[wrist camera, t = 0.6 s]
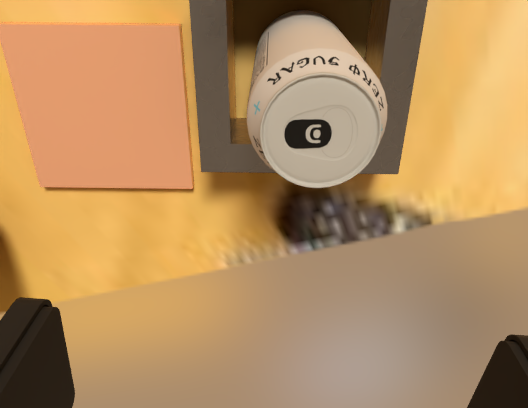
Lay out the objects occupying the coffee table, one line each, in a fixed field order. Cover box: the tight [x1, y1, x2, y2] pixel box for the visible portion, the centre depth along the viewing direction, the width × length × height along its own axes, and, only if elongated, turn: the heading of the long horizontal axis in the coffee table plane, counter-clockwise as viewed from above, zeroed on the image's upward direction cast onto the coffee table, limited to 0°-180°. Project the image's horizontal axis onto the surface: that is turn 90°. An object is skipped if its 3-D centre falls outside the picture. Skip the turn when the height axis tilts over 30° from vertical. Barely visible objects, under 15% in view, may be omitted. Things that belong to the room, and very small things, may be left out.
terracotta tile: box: [0, 22, 194, 189], centre depth 33 cm, size 12×12×1 cm
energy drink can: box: [247, 10, 387, 188], centre depth 24 cm, size 6×6×15 cm
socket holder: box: [189, 0, 428, 174], centre depth 29 cm, size 13×13×5 cm
